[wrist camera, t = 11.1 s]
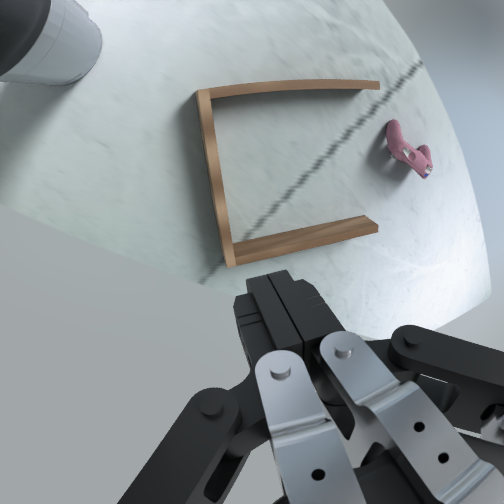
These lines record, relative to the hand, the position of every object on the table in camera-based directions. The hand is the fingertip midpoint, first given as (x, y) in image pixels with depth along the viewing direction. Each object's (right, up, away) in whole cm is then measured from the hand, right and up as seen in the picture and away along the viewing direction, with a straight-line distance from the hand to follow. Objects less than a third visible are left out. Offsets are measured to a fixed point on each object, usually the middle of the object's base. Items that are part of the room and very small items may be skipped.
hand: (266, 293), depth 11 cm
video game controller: (+23, +18, +31) cm, 43 cm away
